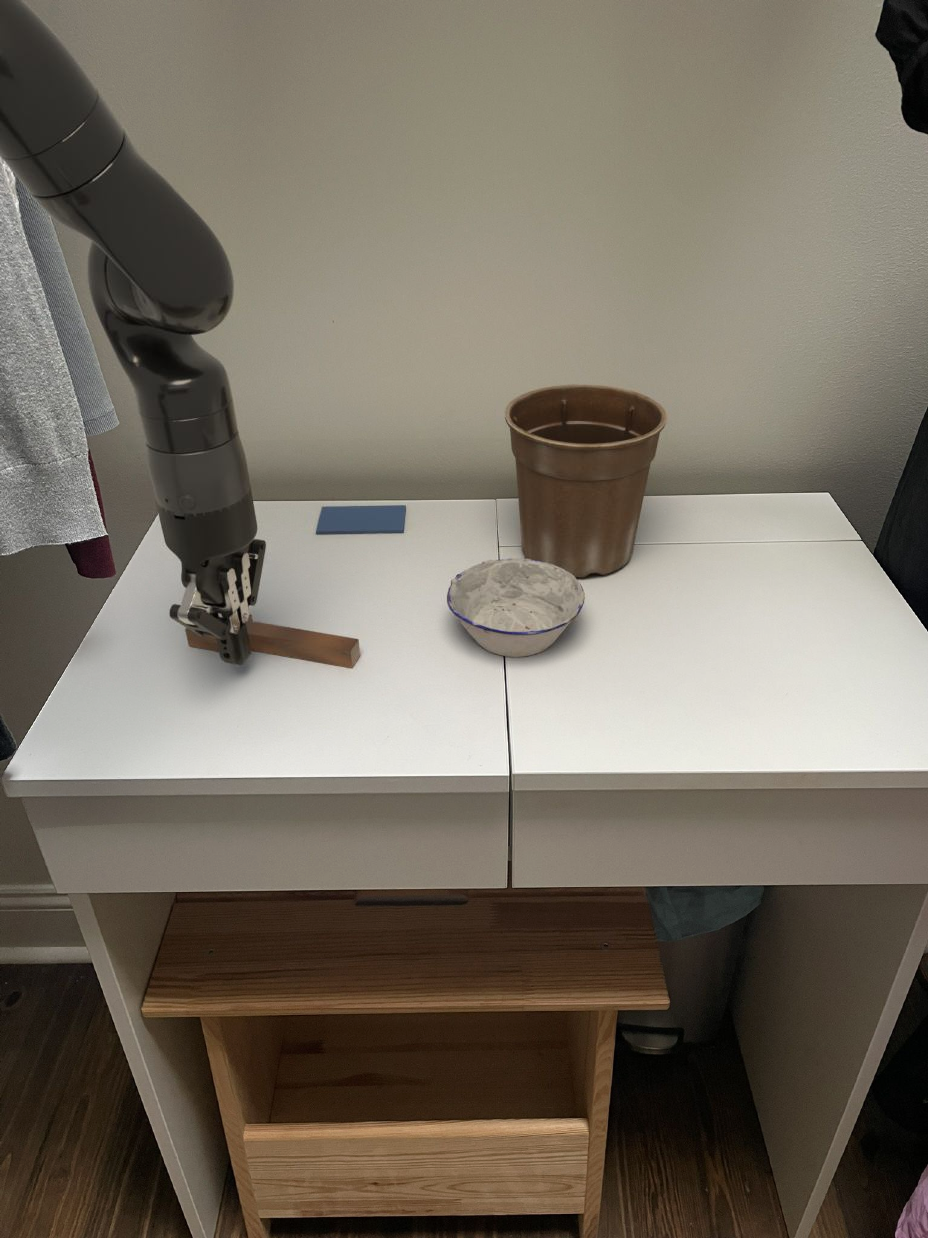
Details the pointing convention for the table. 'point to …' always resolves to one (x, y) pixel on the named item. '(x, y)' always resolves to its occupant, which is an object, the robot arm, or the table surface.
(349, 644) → the wooden mallet
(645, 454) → the plant pot
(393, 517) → the cloth
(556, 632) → the bowl
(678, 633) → the table surface
